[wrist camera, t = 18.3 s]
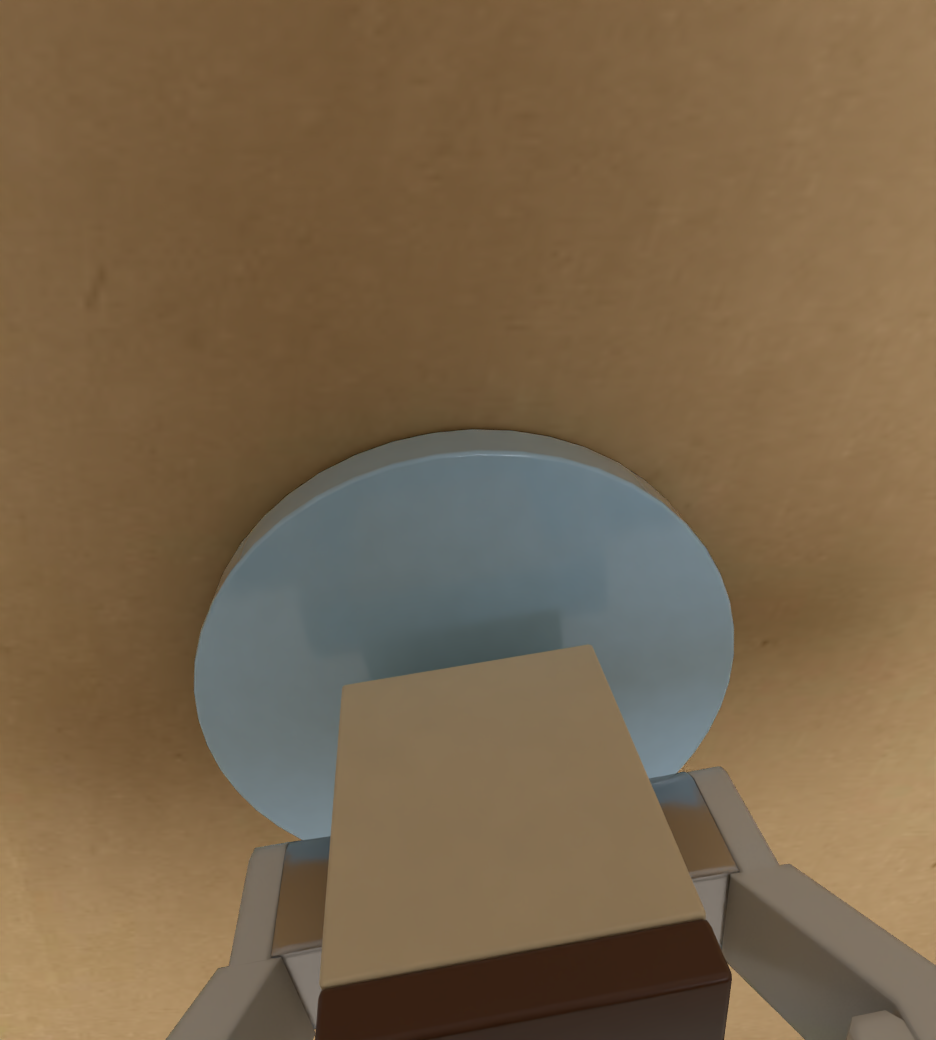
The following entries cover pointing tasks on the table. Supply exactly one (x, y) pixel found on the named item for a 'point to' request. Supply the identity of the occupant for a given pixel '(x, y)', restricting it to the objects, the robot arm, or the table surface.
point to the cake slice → (507, 867)
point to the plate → (454, 602)
